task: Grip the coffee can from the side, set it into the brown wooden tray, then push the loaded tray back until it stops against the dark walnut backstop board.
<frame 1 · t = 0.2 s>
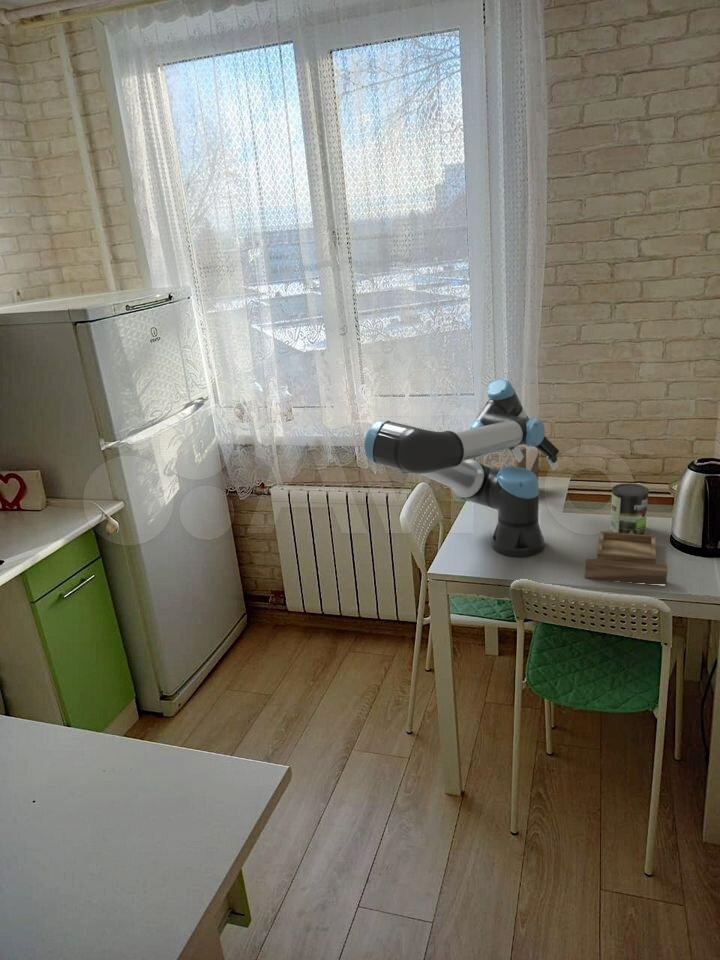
hand: (538, 463, 234), 15 cm above the table, tool tilted 35°, fingers open, 13 cm apart
brown wooden tray: (626, 549, 202), point 2 cm above the table, slide at 6.0 cm
backstop: (624, 581, 189), on the table
wooden block: (526, 494, 250), on the table
coffee can: (627, 533, 216), on the table
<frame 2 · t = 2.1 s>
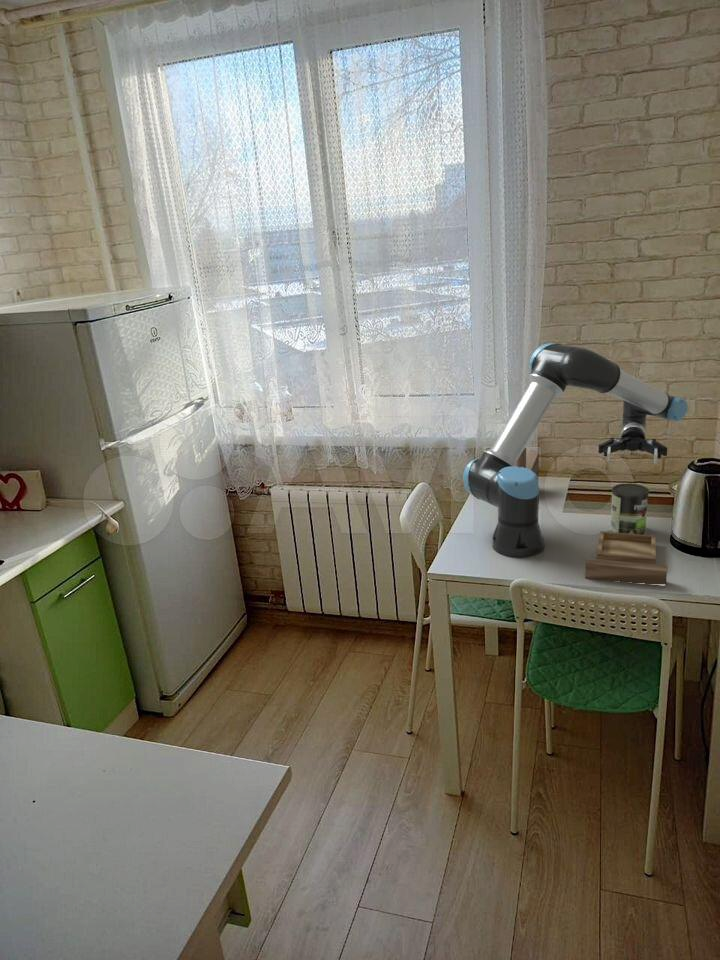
hand: (631, 458, 217), 20 cm above the table, tool horizontal, fingers open, 13 cm apart
nothing on the table moved.
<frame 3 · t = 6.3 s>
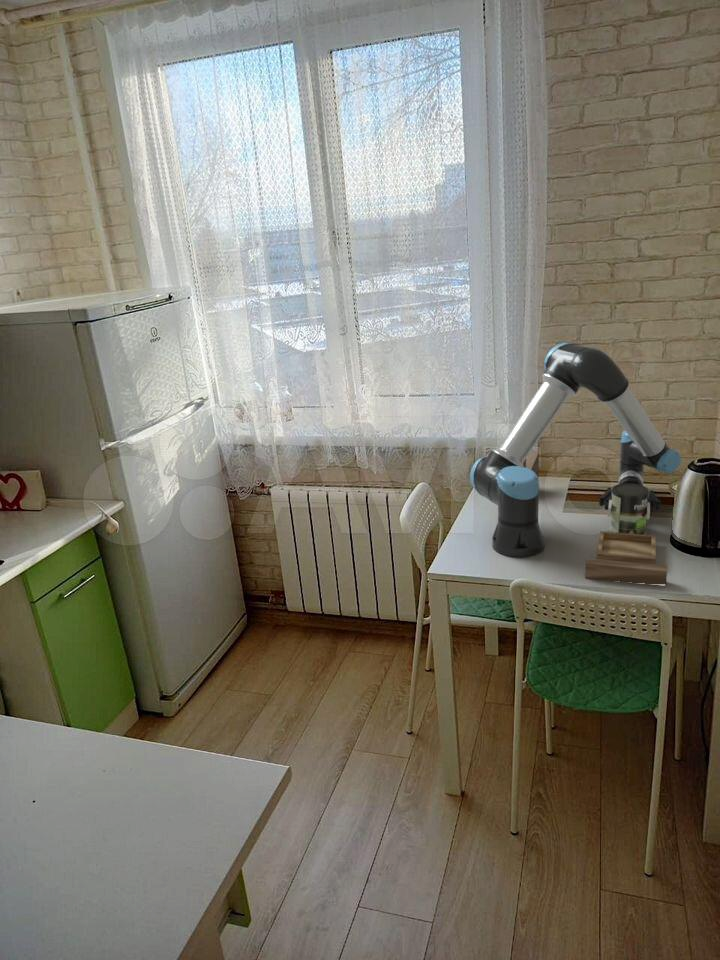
hand: (628, 513, 209), 8 cm above the table, tool horizontal, fingers closed on coffee can, 10 cm apart
coffee can: (627, 532, 216), on the table, touching gripper
everything else where it was.
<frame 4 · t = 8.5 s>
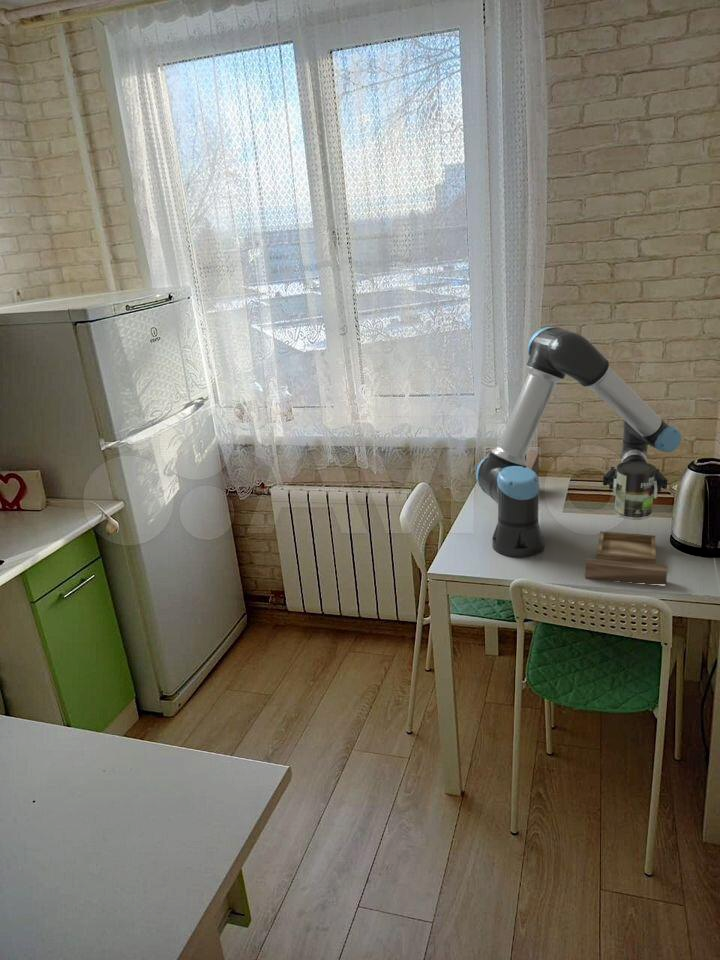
hand: (634, 492, 199), 18 cm above the table, tool horizontal, fingers closed on coffee can, 10 cm apart
coffee can: (632, 513, 206), point 10 cm above the table, touching gripper
everything else where it was.
when the fingers open (11 cm above the table, at t = 11.0 s): coffee can drops 2 cm, resting on brown wooden tray.
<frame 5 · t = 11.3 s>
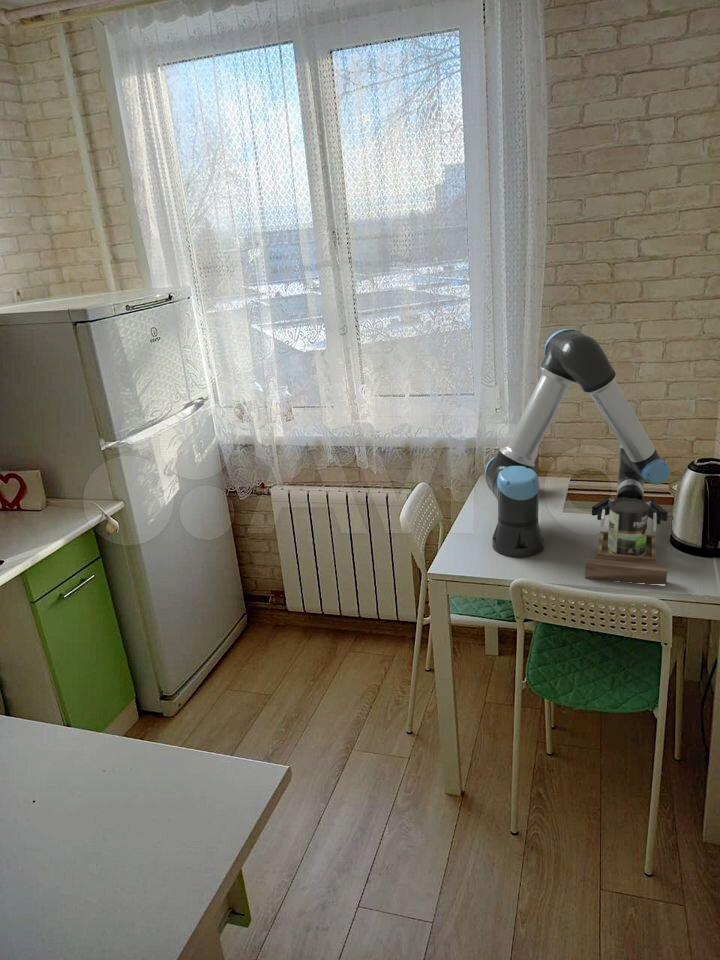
hand: (628, 524, 196), 11 cm above the table, tool horizontal, fingers open, 13 cm apart
brown wooden tray: (626, 549, 202), point 2 cm above the table, slide at 6.0 cm, touching coffee can
coffee can: (626, 551, 202), point 1 cm above the table, touching brown wooden tray
everything else where it was.
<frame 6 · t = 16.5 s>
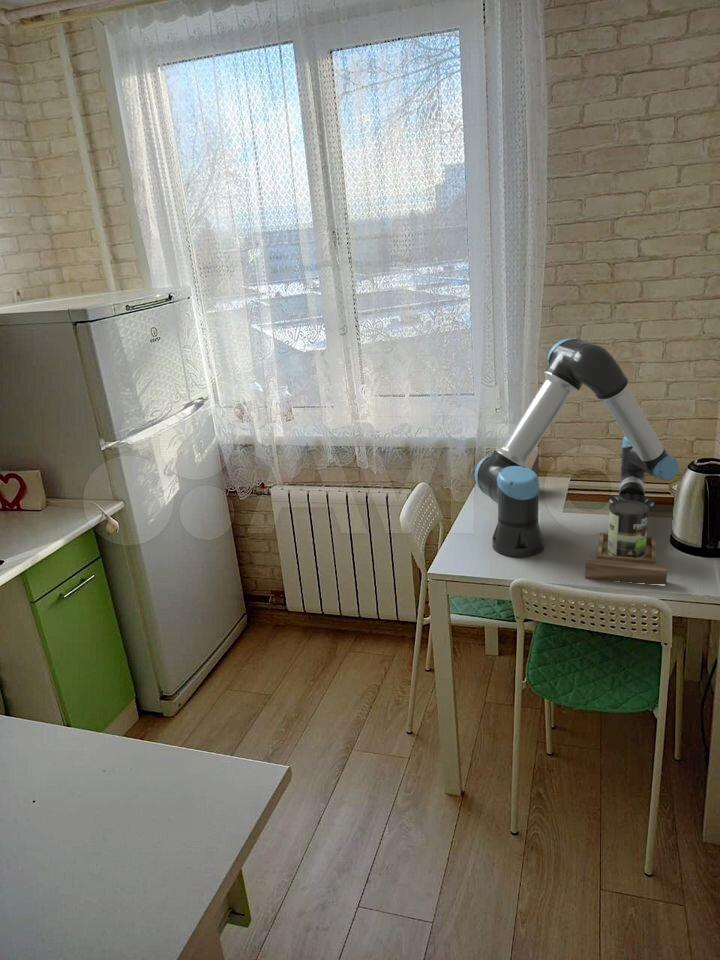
hand: (630, 523, 203), 8 cm above the table, tool horizontal, fingers closed
brown wooden tray: (626, 551, 201), point 2 cm above the table, slide at 4.8 cm, touching coffee can
coffee can: (626, 553, 201), point 1 cm above the table, touching brown wooden tray, gripper
everything else where it was.
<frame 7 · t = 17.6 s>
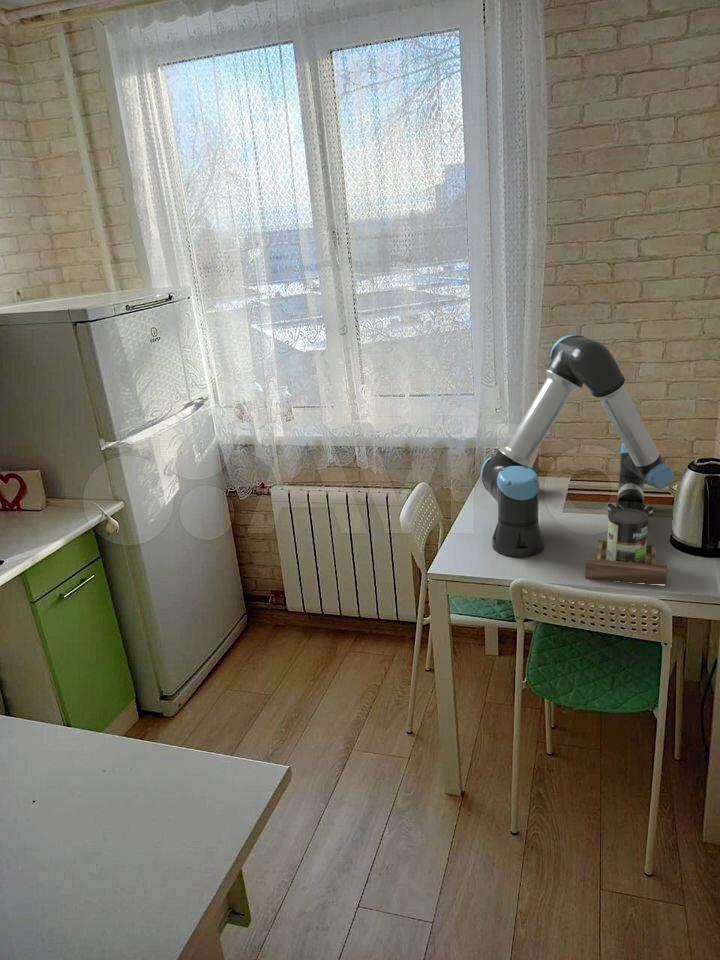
hand: (629, 532, 198), 8 cm above the table, tool horizontal, fingers closed
brown wooden tray: (625, 558, 196), point 2 cm above the table, slide at 0.0 cm
coffee can: (625, 562, 196), point 1 cm above the table, touching gripper
everything else where it was.
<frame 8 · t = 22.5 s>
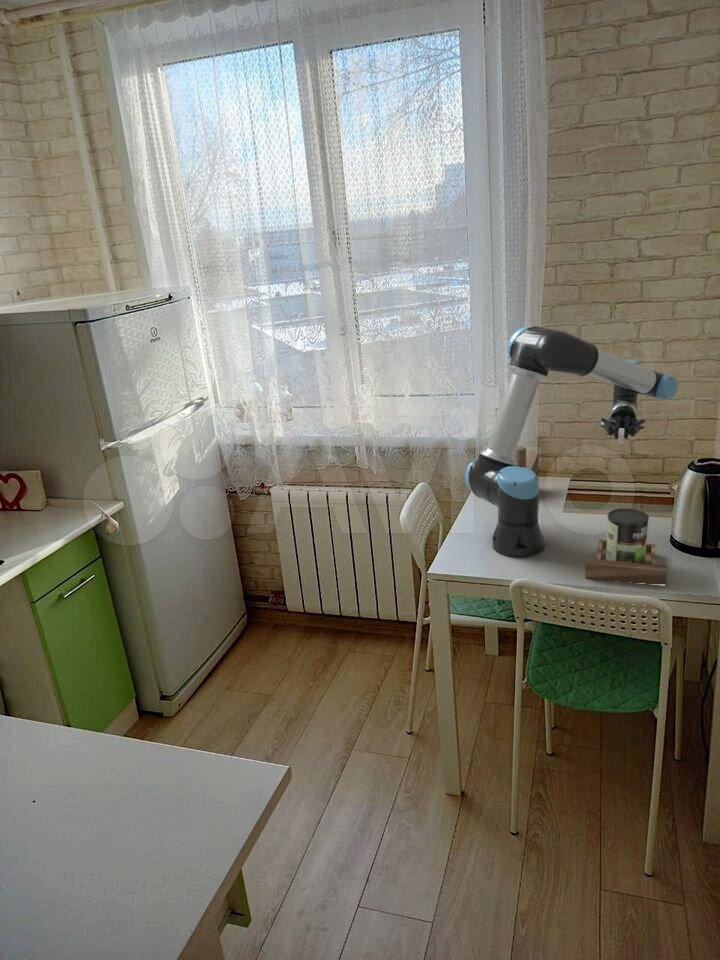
hand: (620, 439, 205), 30 cm above the table, tool horizontal, fingers closed
brown wooden tray: (625, 558, 197), point 2 cm above the table, slide at 0.2 cm, touching coffee can
coffee can: (625, 563, 196), point 1 cm above the table, touching brown wooden tray
everything else where it was.
at the end: brown wooden tray slide at 0.2 cm; coffee can 1.3 cm from the brown wooden tray (horizontally); coffee can tilted 0° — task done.
